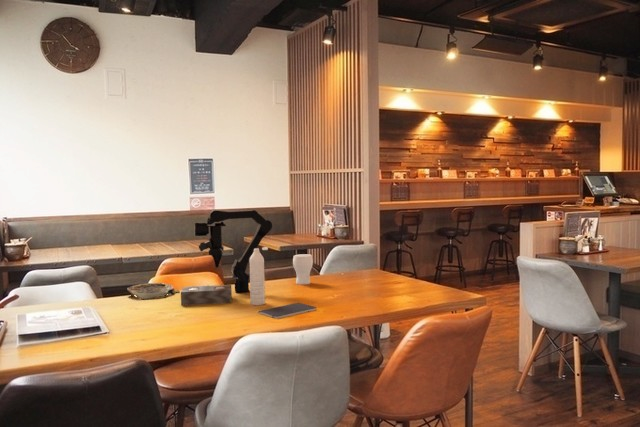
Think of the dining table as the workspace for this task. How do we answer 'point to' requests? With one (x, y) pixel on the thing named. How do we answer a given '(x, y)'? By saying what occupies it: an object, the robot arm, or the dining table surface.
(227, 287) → the block
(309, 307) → the notebook
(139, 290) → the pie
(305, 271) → the cup
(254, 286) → the water bottle
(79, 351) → the dining table surface
